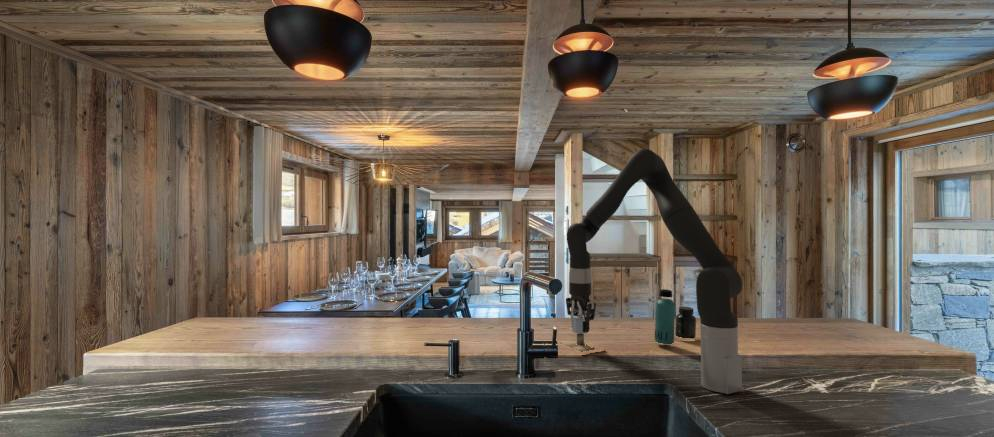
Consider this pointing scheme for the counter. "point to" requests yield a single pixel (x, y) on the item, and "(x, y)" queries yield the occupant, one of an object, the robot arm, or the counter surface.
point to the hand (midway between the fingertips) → (580, 330)
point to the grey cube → (577, 324)
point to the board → (579, 347)
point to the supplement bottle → (685, 323)
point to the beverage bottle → (665, 318)
